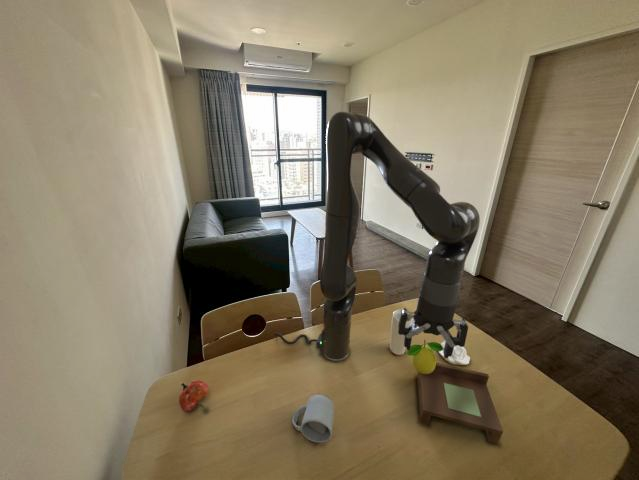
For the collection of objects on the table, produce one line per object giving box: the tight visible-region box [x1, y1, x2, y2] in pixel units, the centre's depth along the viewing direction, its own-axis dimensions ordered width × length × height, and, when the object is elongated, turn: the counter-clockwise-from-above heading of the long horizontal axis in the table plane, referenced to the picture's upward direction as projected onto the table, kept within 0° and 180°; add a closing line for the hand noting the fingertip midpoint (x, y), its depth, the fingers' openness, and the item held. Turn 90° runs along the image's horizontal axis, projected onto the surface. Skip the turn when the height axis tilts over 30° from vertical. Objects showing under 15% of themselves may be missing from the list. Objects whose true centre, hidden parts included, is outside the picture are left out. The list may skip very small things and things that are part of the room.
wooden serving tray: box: [416, 362, 504, 445], centre depth 69 cm, size 18×14×8 cm
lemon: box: [405, 339, 444, 374], centre depth 61 cm, size 7×6×10 cm
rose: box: [438, 340, 471, 366], centre depth 87 cm, size 10×4×10 cm
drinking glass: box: [389, 309, 414, 356], centre depth 87 cm, size 7×7×15 cm
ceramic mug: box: [291, 393, 335, 444], centre depth 64 cm, size 11×8×8 cm
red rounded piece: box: [178, 380, 210, 412], centre depth 69 cm, size 7×7×10 cm
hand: (426, 351), depth 60 cm, fingers closed on lemon, 8 cm apart
